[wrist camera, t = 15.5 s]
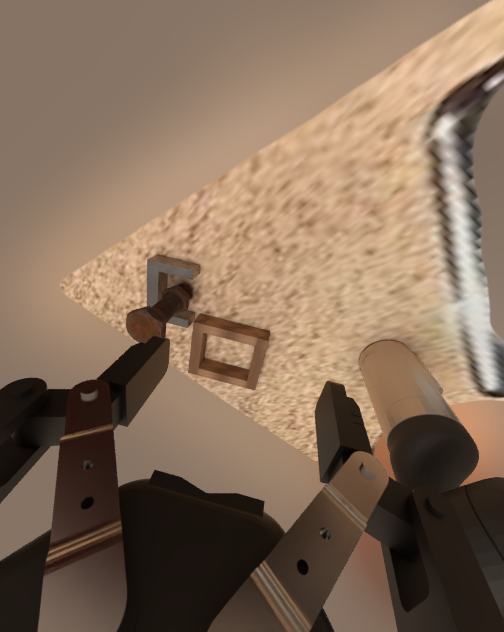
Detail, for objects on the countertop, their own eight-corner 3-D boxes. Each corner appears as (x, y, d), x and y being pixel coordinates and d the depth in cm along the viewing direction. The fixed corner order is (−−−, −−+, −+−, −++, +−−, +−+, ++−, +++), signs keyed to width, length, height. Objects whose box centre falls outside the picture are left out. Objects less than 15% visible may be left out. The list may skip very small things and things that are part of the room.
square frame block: (270, 331, 50) (268, 340, 46) (257, 379, 55) (255, 390, 52) (200, 313, 50) (193, 321, 47) (194, 362, 56) (188, 372, 53)
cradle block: (200, 265, 46) (193, 270, 43) (194, 319, 51) (187, 327, 48) (157, 254, 46) (147, 259, 43) (155, 309, 51) (146, 317, 48)
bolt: (205, 292, 48) (170, 331, 35) (190, 309, 50) (151, 352, 37) (180, 271, 47) (134, 303, 34) (166, 289, 49) (117, 326, 36)
